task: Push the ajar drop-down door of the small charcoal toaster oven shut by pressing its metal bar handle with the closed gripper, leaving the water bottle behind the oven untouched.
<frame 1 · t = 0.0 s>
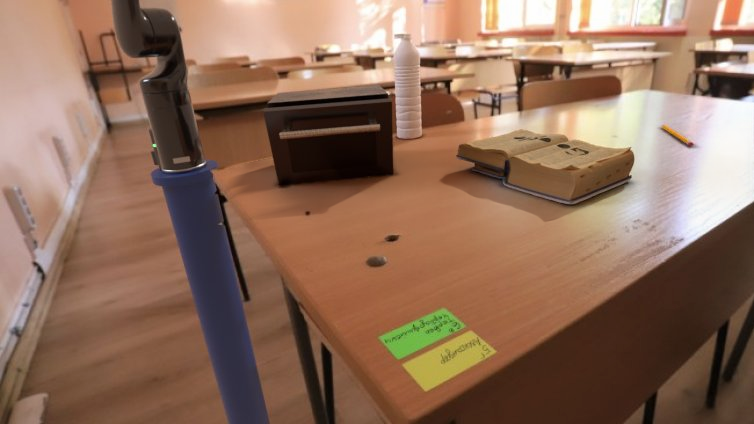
water bottle: (408, 138, 109), on the table
pencil: (674, 136, 93), on the table
book: (536, 176, 74), on the table
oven: (336, 165, 89), on the table
oven door: (332, 148, 74), point 7 cm above the table, hinge at 13.4°
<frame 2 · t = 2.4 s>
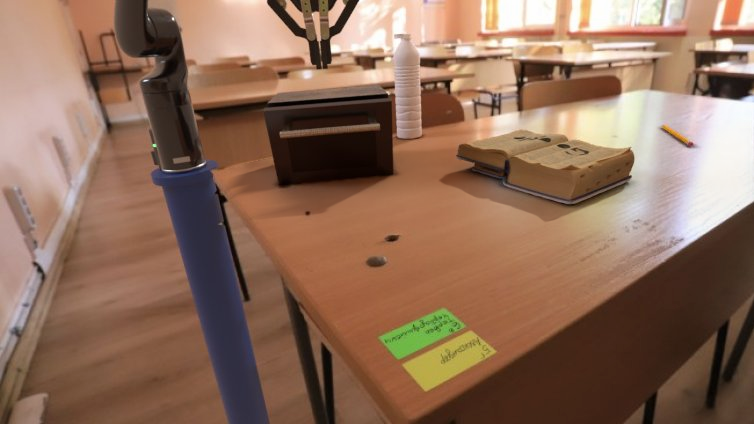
hand: (322, 68, 59), 21 cm above the table, tool pointing down, fingers closed
oven door: (332, 148, 74), point 7 cm above the table, hinge at 12.6°
everything else where it was.
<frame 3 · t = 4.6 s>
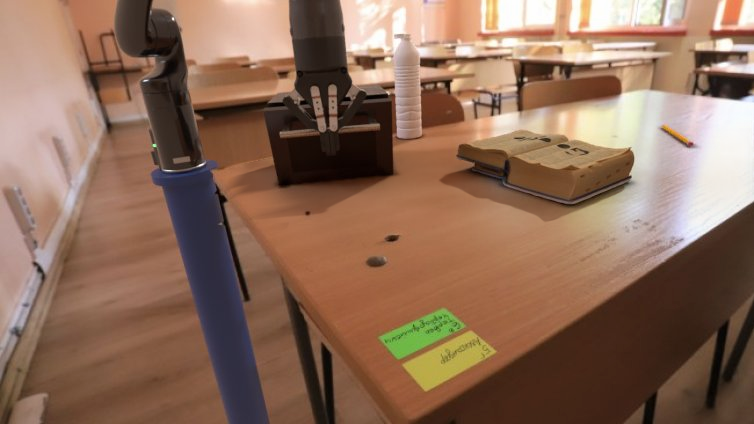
hand: (331, 154, 65), 8 cm above the table, tool pointing down, fingers closed
nothing on the table moved.
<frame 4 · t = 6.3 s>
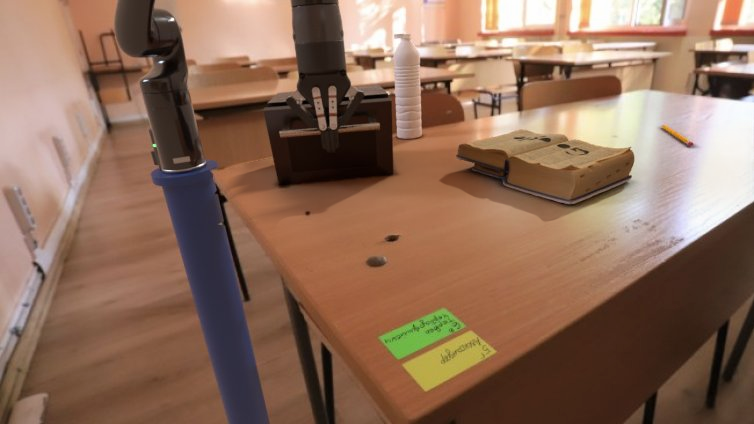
hand: (331, 151, 70), 8 cm above the table, tool pointing down, fingers closed
oven door: (332, 147, 74), point 7 cm above the table, hinge at 12.0°, touching gripper
everything else where it was.
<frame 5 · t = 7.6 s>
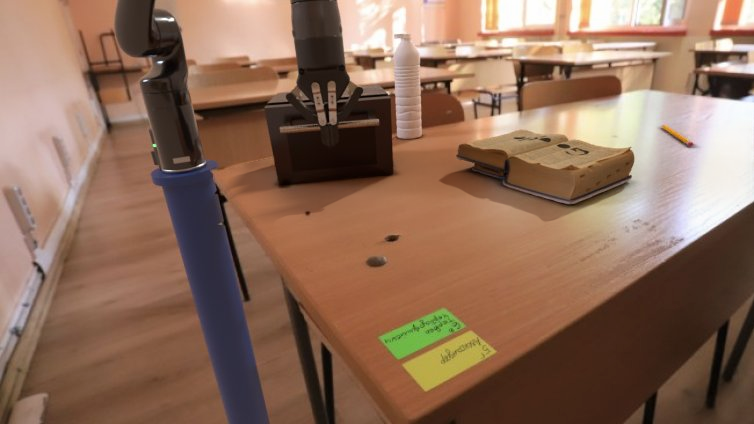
hand: (331, 146, 70), 8 cm above the table, tool pointing down, fingers closed
oven door: (332, 145, 75), point 7 cm above the table, hinge at 7.2°, touching gripper
everything else where it was.
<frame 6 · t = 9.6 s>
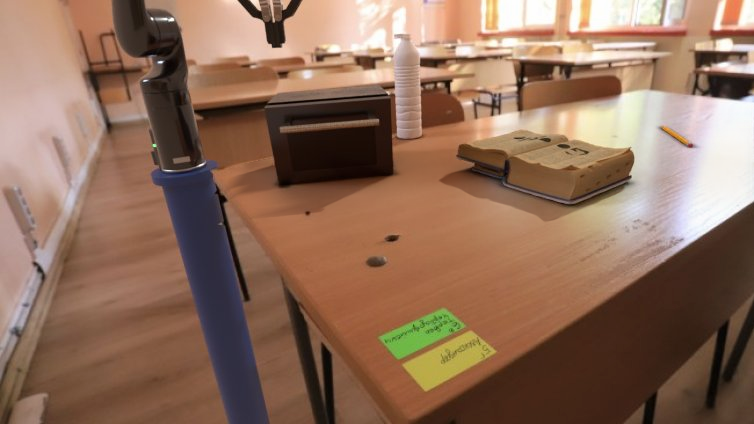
hand: (277, 47, 67), 24 cm above the table, tool pointing down, fingers closed
oven door: (332, 145, 75), point 7 cm above the table, hinge at 7.2°
everything else where it was.
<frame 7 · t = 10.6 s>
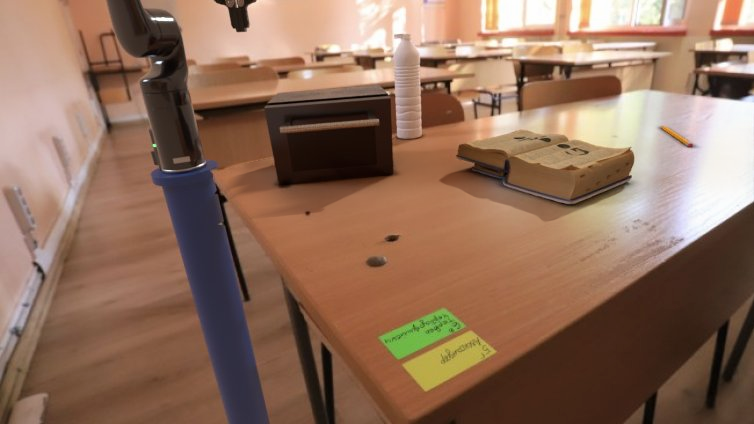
hand: (241, 31, 71), 27 cm above the table, tool pointing down, fingers closed
nothing on the table moved.
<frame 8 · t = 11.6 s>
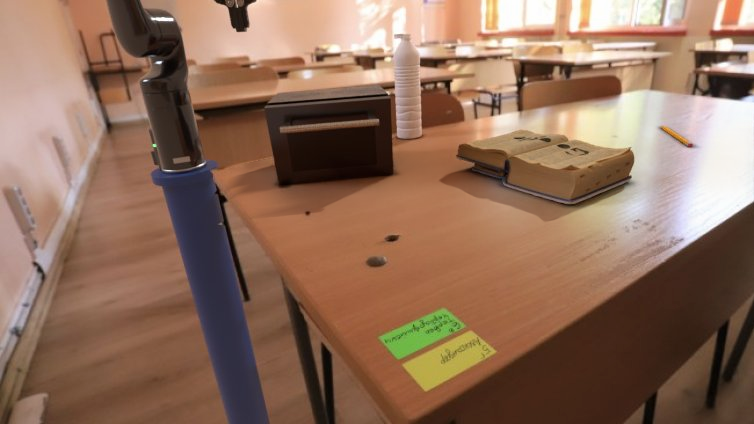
hand: (241, 31, 71), 27 cm above the table, tool pointing down, fingers closed
nothing on the table moved.
at the end: oven door at +7° (first picture: +13°); water bottle moved 0.2 cm from its start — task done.
